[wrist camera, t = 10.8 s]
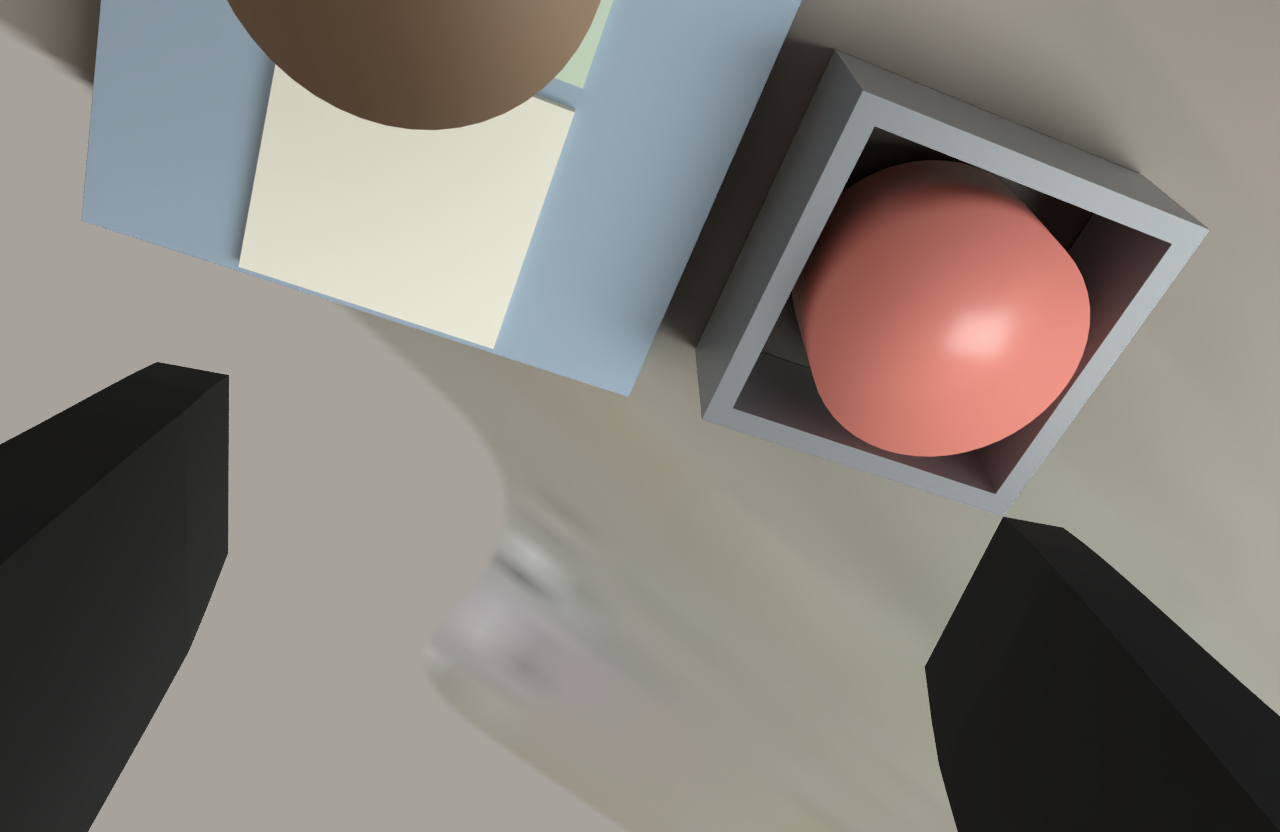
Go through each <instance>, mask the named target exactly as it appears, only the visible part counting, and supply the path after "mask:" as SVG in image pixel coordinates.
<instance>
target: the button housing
mask: <svg viewBox="0 0 1280 832" xmlns="http://www.w3.org/2000/svg"><path fill="white" fill-rule="evenodd" d="M874 127H878V128H880V129H883V130H886V131H888V132H891V133H893V134H896V135H898V136H901V137H903V138H906V139H908V140H911V141H913V142H916V143H918V144H921V145H923V146H926V147H929V148H931V149H934V150H936V151H939V152H941V153H944V154H946V155H949V156H951V157H954V158H956V159H959V160H961V161H964V162H966V163H969V164H971V165H974V166H977V167H979V168H982V169H984V170H987V171H989V172H992V173H994V174H997V175H999V176H1002V177H1004V178H1007V179H1009V180H1012V181H1014V182H1017V183H1019V184H1022V185H1025V186H1027V187H1030V188H1032V189H1035V190H1037V191H1040V192H1042V193H1045V194H1047V195H1050V196H1052V197H1055V198H1057V199H1060V200H1062V201H1065V202H1068V203H1070V204H1073V205H1075V206H1078V207H1080V208H1083V209H1085V210H1088V211H1090V212H1093V215H1092V216H1091V218H1090V219H1089V221H1088V222H1087V224H1086V226H1085V227H1084V229H1083V230H1082V232H1081V233H1080V235H1079V236H1078V238H1077V239H1076V241H1075V242H1074V244H1073V246H1072V247H1071V249H1070V250H1069V252H1068V254H1069V255H1070V257H1071V258H1072V259H1073V261H1074V262H1075V263H1076V265H1077V267H1078V269H1079V271H1080V273H1081V275H1082V277H1083V280H1084V283H1085V286H1086V289H1087V292H1088V298H1089V304H1090V327H1089V333H1088V339H1087V343H1086V346H1085V349H1084V353H1083V356H1082V358H1081V360H1080V362H1079V365H1078V367H1077V369H1076V371H1075V373H1074V374H1073V376H1072V378H1071V379H1070V381H1069V382H1068V384H1067V386H1066V387H1065V388H1064V389H1063V391H1062V392H1061V393H1060V394H1059V396H1058V397H1057V398H1056V399H1055V400H1054V401H1053V402H1052V403H1051V404H1050V405H1049V406H1048V408H1047V409H1046V410H1045V411H1044V412H1042V413H1041V414H1040V415H1039V416H1037V417H1036V418H1035V419H1034V420H1033V421H1031V422H1030V423H1029V424H1027V425H1026V426H1024V427H1023V428H1021V429H1019V430H1018V431H1016V432H1015V433H1013V434H1011V435H1009V436H1007V437H1005V438H1003V439H1002V440H1000V441H997V442H995V443H992V444H990V445H987V446H985V447H982V448H979V449H975V450H972V451H968V452H964V453H959V454H953V455H946V456H933V457H928V456H911V455H904V454H898V453H894V452H890V451H886V450H883V449H880V448H878V447H875V446H873V445H870V444H868V443H867V442H865V441H863V440H861V439H859V438H858V437H856V436H854V435H853V434H852V433H851V432H849V431H848V430H847V429H845V428H844V427H843V426H842V425H841V424H840V423H839V422H838V421H837V420H836V419H835V418H834V417H833V416H832V414H831V413H830V411H829V410H828V409H827V407H826V406H825V404H824V402H823V400H822V398H821V396H820V395H819V393H818V390H817V387H816V384H815V381H814V378H813V374H812V371H811V369H809V368H806V367H803V366H800V365H797V364H794V363H791V362H788V361H785V360H782V359H779V358H777V357H774V356H771V355H768V354H765V353H762V352H761V351H762V349H763V347H764V345H765V343H766V341H767V339H768V337H769V335H770V333H771V331H772V329H773V327H774V325H775V323H776V321H777V319H778V317H779V315H780V313H781V311H782V309H783V307H784V305H785V303H786V301H787V299H788V297H789V295H790V293H791V291H792V289H793V287H794V285H795V283H796V281H797V279H798V277H799V275H800V273H801V271H802V269H803V267H804V265H805V264H806V262H807V260H808V258H809V256H810V254H811V252H812V250H813V248H814V246H815V244H816V242H817V240H818V238H819V236H820V234H821V232H822V230H823V228H824V226H825V224H826V222H827V220H828V218H829V216H830V214H831V212H832V210H833V208H834V206H835V204H836V202H837V200H838V198H839V196H840V194H841V192H842V190H843V188H844V186H845V184H846V182H847V180H848V178H849V176H850V174H851V172H852V170H853V168H854V166H855V164H856V162H857V160H858V158H859V157H860V155H861V153H862V151H863V149H864V147H865V145H866V143H867V141H868V139H869V137H870V135H871V133H872V131H873V129H874ZM1208 232H1209V229H1208V228H1207V227H1206V226H1204V225H1203V224H1202V223H1201V222H1200V221H1198V220H1197V219H1196V218H1195V217H1193V216H1192V215H1191V214H1190V213H1189V212H1187V211H1186V210H1185V209H1184V208H1182V207H1181V206H1180V205H1179V204H1177V203H1176V202H1175V201H1174V200H1173V199H1171V198H1170V197H1169V196H1168V195H1166V194H1165V193H1164V192H1163V191H1162V190H1160V189H1159V188H1158V187H1157V186H1155V185H1154V184H1153V183H1152V182H1151V181H1149V180H1148V179H1147V178H1146V177H1144V176H1143V175H1141V174H1139V173H1136V172H1134V171H1132V170H1129V169H1127V168H1124V167H1122V166H1119V165H1117V164H1114V163H1112V162H1110V161H1107V160H1105V159H1102V158H1100V157H1097V156H1095V155H1092V154H1090V153H1087V152H1085V151H1083V150H1080V149H1078V148H1075V147H1073V146H1070V145H1068V144H1065V143H1063V142H1061V141H1058V140H1056V139H1053V138H1051V137H1048V136H1046V135H1043V134H1041V133H1038V132H1036V131H1034V130H1031V129H1029V128H1026V127H1024V126H1021V125H1019V124H1016V123H1014V122H1012V121H1009V120H1007V119H1004V118H1002V117H999V116H997V115H994V114H992V113H990V112H987V111H985V110H982V109H980V108H977V107H975V106H972V105H970V104H967V103H965V102H963V101H960V100H958V99H955V98H953V97H950V96H948V95H945V94H943V93H941V92H938V91H936V90H933V89H931V88H928V87H926V86H923V85H921V84H919V83H916V82H914V81H911V80H909V79H906V78H904V77H901V76H899V75H896V74H894V73H892V72H889V71H887V70H884V69H882V68H879V67H877V66H874V65H872V64H870V63H867V62H865V61H862V60H860V59H857V58H855V57H852V56H850V55H848V54H845V53H843V52H840V51H838V50H834V52H833V55H832V57H831V59H830V61H829V63H828V65H827V68H826V70H825V72H824V74H823V76H822V78H821V80H820V83H819V85H818V87H817V89H816V91H815V93H814V95H813V98H812V100H811V102H810V104H809V106H808V108H807V111H806V113H805V115H804V117H803V119H802V121H801V123H800V126H799V128H798V130H797V132H796V134H795V136H794V139H793V141H792V143H791V145H790V147H789V149H788V151H787V154H786V156H785V158H784V160H783V162H782V164H781V166H780V169H779V171H778V173H777V175H776V177H775V179H774V182H773V184H772V186H771V188H770V190H769V192H768V194H767V197H766V199H765V201H764V203H763V205H762V207H761V210H760V212H759V214H758V216H757V218H756V220H755V222H754V225H753V227H752V229H751V231H750V233H749V235H748V237H747V240H746V242H745V244H744V246H743V248H742V250H741V253H740V255H739V257H738V259H737V261H736V263H735V265H734V268H733V270H732V272H731V274H730V276H729V278H728V281H727V283H726V285H725V287H724V289H723V291H722V293H721V296H720V298H719V300H718V302H717V304H716V306H715V308H714V311H713V313H712V315H711V317H710V319H709V321H708V324H707V326H706V328H705V330H704V332H703V334H702V336H701V339H700V341H699V343H698V345H697V347H696V349H695V352H696V362H697V373H698V383H699V394H700V404H701V415H702V420H705V421H708V422H711V423H714V424H717V425H720V426H723V427H726V428H730V429H733V430H736V431H739V432H742V433H745V434H748V435H751V436H754V437H757V438H761V439H764V440H767V441H770V442H773V443H776V444H779V445H782V446H785V447H788V448H792V449H795V450H798V451H801V452H804V453H807V454H810V455H813V456H816V457H819V458H823V459H826V460H829V461H832V462H835V463H838V464H841V465H844V466H847V467H850V468H854V469H857V470H860V471H863V472H866V473H869V474H872V475H875V476H878V477H881V478H885V479H888V480H891V481H894V482H897V483H900V484H903V485H906V486H909V487H912V488H916V489H919V490H922V491H925V492H928V493H931V494H934V495H937V496H940V497H943V498H947V499H950V500H953V501H956V502H959V503H962V504H965V505H968V506H971V507H974V508H978V509H981V510H984V511H987V512H990V513H993V514H996V515H999V516H1002V517H1003V516H1004V515H1005V513H1006V512H1007V510H1008V509H1009V508H1010V506H1011V505H1012V503H1013V502H1014V501H1015V499H1016V498H1017V497H1018V495H1019V494H1020V492H1021V491H1022V490H1023V488H1024V487H1025V485H1026V484H1027V483H1028V481H1029V480H1030V479H1031V477H1032V476H1033V474H1034V473H1035V472H1036V470H1037V469H1038V467H1039V466H1040V465H1041V463H1042V462H1043V460H1044V459H1045V458H1046V456H1047V455H1048V454H1049V452H1050V451H1051V449H1052V448H1053V447H1054V445H1055V444H1056V442H1057V441H1058V440H1059V438H1060V437H1061V436H1062V434H1063V433H1064V431H1065V430H1066V429H1067V427H1068V426H1069V424H1070V423H1071V422H1072V420H1073V419H1074V418H1075V416H1076V415H1077V413H1078V412H1079V411H1080V409H1081V408H1082V406H1083V405H1084V404H1085V402H1086V401H1087V399H1088V398H1089V397H1090V395H1091V394H1092V393H1093V391H1094V390H1095V388H1096V387H1097V386H1098V384H1099V383H1100V381H1101V380H1102V379H1103V377H1104V376H1105V375H1106V373H1107V372H1108V370H1109V369H1110V368H1111V366H1112V365H1113V363H1114V362H1115V361H1116V359H1117V358H1118V357H1119V355H1120V354H1121V352H1122V351H1123V350H1124V348H1125V347H1126V345H1127V344H1128V343H1129V341H1130V340H1131V338H1132V337H1133V336H1134V334H1135V333H1136V332H1137V330H1138V329H1139V327H1140V326H1141V325H1142V323H1143V322H1144V320H1145V319H1146V318H1147V316H1148V315H1149V314H1150V312H1151V311H1152V309H1153V308H1154V307H1155V305H1156V304H1157V302H1158V301H1159V300H1160V298H1161V297H1162V295H1163V294H1164V293H1165V291H1166V290H1167V289H1168V287H1169V286H1170V284H1171V283H1172V282H1173V280H1174V279H1175V277H1176V276H1177V275H1178V273H1179V272H1180V271H1181V269H1182V268H1183V266H1184V265H1185V264H1186V262H1187V261H1188V259H1189V258H1190V257H1191V255H1192V254H1193V253H1194V251H1195V250H1196V248H1197V247H1198V246H1199V244H1200V243H1201V241H1202V240H1203V239H1204V237H1205V236H1206V234H1207V233H1208Z"/></svg>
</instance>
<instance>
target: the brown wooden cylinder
mask: <svg viewBox="0 0 1280 832" xmlns="http://www.w3.org/2000/svg"><path fill="white" fill-rule="evenodd" d="M227 1H228V3H229V5H230V7H231V8H232V10H233V12H234V14H235V15H236V17H237V18H238V20H239V21H240V22H241V24H242V25H243V27H244V28H245V29H246V31H247V32H248V34H249V35H250V36H251V38H252V39H253V40H254V41H255V42H256V44H257V45H258V46H259V47H260V48H261V49H262V50H263V51H264V53H265V54H266V55H267V56H268V57H269V58H270V59H271V60H272V61H273V62H274V63H275V64H276V65H277V66H278V67H279V68H280V69H282V70H283V71H284V72H285V73H286V74H287V75H288V76H289V77H290V78H291V79H293V80H294V81H295V82H297V83H298V84H300V85H301V86H302V87H304V88H305V89H306V90H308V91H309V92H311V93H312V94H313V95H315V96H317V97H318V98H320V99H322V100H324V101H325V102H327V103H329V104H331V105H333V106H334V107H336V108H338V109H340V110H343V111H345V112H347V113H350V114H352V115H355V116H357V117H359V118H362V119H365V120H369V121H372V122H376V123H379V124H382V125H386V126H392V127H398V128H405V129H413V130H442V129H452V128H460V127H464V126H469V125H473V124H477V123H481V122H484V121H487V120H489V119H492V118H494V117H497V116H499V115H502V114H505V113H506V112H508V111H510V110H512V109H514V108H515V107H517V106H519V105H521V104H522V103H524V102H526V101H527V100H529V99H530V98H531V97H533V96H534V95H535V94H536V93H538V92H539V91H540V90H542V89H543V88H544V87H546V86H547V85H548V83H549V82H550V81H551V80H552V79H553V78H554V77H555V76H556V75H557V74H558V73H559V72H560V71H561V70H562V69H563V68H564V67H565V65H566V64H567V63H568V61H569V60H570V59H571V57H572V56H573V55H574V53H575V52H576V51H577V49H578V48H579V46H580V44H581V43H582V41H583V39H584V37H585V35H586V34H587V32H588V30H589V28H590V27H591V24H592V22H593V19H594V17H595V14H596V12H597V9H598V7H599V4H600V2H601V0H227Z"/></svg>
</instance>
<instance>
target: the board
mask: <svg viewBox="0 0 1280 832" xmlns="http://www.w3.org/2000/svg"><path fill="white" fill-rule="evenodd" d="M801 1H802V0H601V2H600V4H599V7H598V9H597V12H596V14H595V17H594V19H593V22H592V24H591V27H590V28H589V30H588V32H587V34H586V35H585V37H584V39H583V41H582V43H581V44H580V46H579V48H578V49H577V51H576V52H575V53H574V55H573V56H572V57H571V59H570V60H569V61H568V63H567V64H566V65H565V67H564V68H563V69H562V70H561V71H560V72H559V73H558V74H557V75H556V76H555V77H554V78H553V79H552V80H551V81H550V82H549V83H548V85H547V86H546V87H544V88H543V89H542V90H540V91H539V92H538V93H536V94H535V95H534V96H533V97H531V98H530V99H529V100H527V101H526V102H524V103H522V104H521V105H519V106H517V107H515V108H514V109H512V110H510V111H508V112H506V113H505V114H502V115H499V116H497V117H494V118H492V119H489V120H487V121H484V122H481V123H477V124H473V125H469V126H464V127H460V128H452V129H442V130H413V129H405V128H398V127H392V126H386V125H382V124H379V123H376V122H372V121H369V120H365V119H362V118H359V117H357V116H355V115H352V114H350V113H347V112H345V111H343V110H340V109H338V108H336V107H334V106H333V105H331V104H329V103H327V102H325V101H324V100H322V99H320V98H318V97H317V96H315V95H313V94H312V93H311V92H309V91H308V90H306V89H305V88H304V87H302V86H301V85H300V84H298V83H297V82H295V81H294V80H293V79H291V78H290V77H289V76H288V75H287V74H286V73H285V72H284V71H283V70H282V69H280V68H279V67H278V66H277V65H276V64H275V63H274V62H273V61H272V60H271V59H270V58H269V57H268V56H267V55H266V54H265V53H264V51H263V50H262V49H261V48H260V47H259V46H258V45H257V44H256V42H255V41H254V40H253V39H252V38H251V36H250V35H249V34H248V32H247V31H246V29H245V28H244V27H243V25H242V24H241V22H240V21H239V20H238V18H237V17H236V15H235V14H234V12H233V10H232V8H231V7H230V5H229V3H228V1H227V0H101V8H100V19H99V30H98V41H97V52H96V63H95V74H94V86H93V97H92V108H91V119H90V130H89V141H88V152H87V163H86V174H85V186H84V197H83V208H82V219H81V220H82V221H84V222H87V223H91V224H94V225H97V226H100V227H103V228H106V229H109V230H112V231H116V232H119V233H122V234H125V235H128V236H131V237H134V238H137V239H140V240H143V241H146V242H150V243H153V244H156V245H159V246H162V247H165V248H168V249H171V250H174V251H177V252H181V253H184V254H187V255H190V256H193V257H196V258H199V259H202V260H205V261H208V262H212V263H215V264H218V265H221V266H224V267H227V268H230V269H233V270H236V271H240V272H243V273H246V274H249V275H252V276H255V277H258V278H261V279H264V280H267V281H271V282H274V283H277V284H280V285H283V286H286V287H289V288H292V289H295V290H298V291H302V292H305V293H308V294H311V295H314V296H317V297H320V298H323V299H326V300H330V301H332V302H336V303H339V304H342V305H345V306H348V307H351V308H354V309H357V310H360V311H364V312H367V313H370V314H373V315H376V316H379V317H382V318H385V319H388V320H391V321H395V322H398V323H401V324H404V325H407V326H410V327H413V328H416V329H419V330H422V331H426V332H429V333H432V334H435V335H438V336H441V337H444V338H447V339H450V340H453V341H457V342H460V343H463V344H466V345H469V346H472V347H475V348H478V349H481V350H484V351H488V352H491V353H494V354H497V355H500V356H503V357H506V358H509V359H512V360H516V361H519V362H522V363H525V364H528V365H531V366H534V367H537V368H540V369H543V370H547V371H550V372H553V373H556V374H559V375H562V376H565V377H568V378H571V379H574V380H578V381H581V382H584V383H587V384H590V385H593V386H596V387H599V388H602V389H605V390H609V391H612V392H615V393H618V394H621V395H624V396H627V397H629V395H630V392H631V390H632V388H633V385H634V383H635V381H636V379H637V376H638V374H639V372H640V369H641V367H642V365H643V363H644V360H645V358H646V356H647V353H648V351H649V349H650V347H651V344H652V342H653V340H654V337H655V335H656V333H657V331H658V328H659V326H660V324H661V321H662V319H663V317H664V315H665V312H666V310H667V308H668V305H669V303H670V301H671V299H672V296H673V294H674V292H675V289H676V287H677V285H678V283H679V280H680V278H681V276H682V273H683V271H684V269H685V267H686V264H687V262H688V260H689V257H690V255H691V253H692V251H693V248H694V246H695V244H696V241H697V239H698V237H699V234H700V232H701V230H702V228H703V225H704V223H705V221H706V218H707V216H708V214H709V212H710V209H711V207H712V205H713V202H714V200H715V198H716V196H717V193H718V191H719V189H720V186H721V184H722V182H723V180H724V177H725V175H726V173H727V170H728V168H729V166H730V164H731V161H732V159H733V157H734V154H735V152H736V150H737V148H738V145H739V143H740V141H741V138H742V136H743V134H744V132H745V129H746V127H747V125H748V122H749V120H750V118H751V116H752V113H753V111H754V109H755V106H756V104H757V102H758V100H759V97H760V95H761V93H762V90H763V88H764V86H765V84H766V81H767V79H768V77H769V74H770V72H771V70H772V67H773V65H774V63H775V61H776V58H777V56H778V54H779V51H780V49H781V47H782V45H783V42H784V40H785V38H786V35H787V33H788V31H789V29H790V26H791V24H792V22H793V19H794V17H795V15H796V13H797V10H798V8H799V6H800V3H801Z"/></svg>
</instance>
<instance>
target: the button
mask: <svg viewBox="0 0 1280 832" xmlns="http://www.w3.org/2000/svg"><path fill="white" fill-rule="evenodd" d="M792 298H793V304H794V310H795V314H796V318H797V321H798V325H799V328H800V332H801V335H802V339H803V342H804V346H805V349H806V353H807V356H808V360H809V363H810V367H811V371H812V374H813V378H814V381H815V384H816V387H817V390H818V393H819V395H820V396H821V398H822V400H823V402H824V404H825V406H826V407H827V409H828V410H829V411H830V413H831V414H832V416H833V417H834V418H835V419H836V420H837V421H838V422H839V423H840V424H841V425H842V426H843V427H844V428H845V429H847V430H848V431H849V432H851V433H852V434H853V435H854V436H856V437H858V438H859V439H861V440H863V441H865V442H867V443H868V444H870V445H873V446H875V447H878V448H880V449H883V450H886V451H890V452H894V453H898V454H904V455H911V456H928V457H933V456H946V455H953V454H959V453H964V452H968V451H972V450H975V449H979V448H982V447H985V446H987V445H990V444H992V443H995V442H997V441H1000V440H1002V439H1003V438H1005V437H1007V436H1009V435H1011V434H1013V433H1015V432H1016V431H1018V430H1019V429H1021V428H1023V427H1024V426H1026V425H1027V424H1029V423H1030V422H1031V421H1033V420H1034V419H1035V418H1036V417H1037V416H1039V415H1040V414H1041V413H1042V412H1044V411H1045V410H1046V409H1047V408H1048V406H1049V405H1050V404H1051V403H1052V402H1053V401H1054V400H1055V399H1056V398H1057V397H1058V396H1059V394H1060V393H1061V392H1062V391H1063V389H1064V388H1065V387H1066V386H1067V384H1068V382H1069V381H1070V379H1071V378H1072V376H1073V374H1074V373H1075V371H1076V369H1077V367H1078V365H1079V362H1080V360H1081V358H1082V356H1083V353H1084V349H1085V346H1086V343H1087V339H1088V333H1089V327H1090V304H1089V298H1088V292H1087V289H1086V286H1085V283H1084V280H1083V277H1082V275H1081V273H1080V271H1079V269H1078V267H1077V265H1076V263H1075V262H1074V261H1073V259H1072V258H1071V257H1070V255H1069V254H1068V253H1067V252H1066V250H1065V249H1064V248H1063V247H1062V246H1061V245H1060V243H1059V242H1058V241H1057V240H1056V239H1055V238H1054V237H1053V235H1052V234H1051V233H1050V232H1049V231H1048V230H1047V229H1046V227H1045V226H1044V225H1043V224H1042V223H1041V222H1040V221H1039V219H1038V218H1037V217H1036V216H1035V215H1034V214H1033V213H1032V211H1031V210H1030V209H1029V208H1028V207H1027V206H1026V205H1025V203H1024V202H1023V201H1022V200H1021V199H1020V198H1019V197H1018V195H1017V194H1016V193H1015V192H1014V191H1013V190H1011V189H1010V188H1009V187H1008V186H1007V185H1006V184H1005V183H1004V182H1002V181H1001V180H999V179H998V178H996V177H995V176H993V175H991V174H989V173H987V172H985V171H983V170H981V169H979V168H976V167H973V166H970V165H966V164H963V163H957V162H952V161H941V160H926V161H915V162H909V163H904V164H900V165H895V166H892V167H890V168H887V169H884V170H881V171H878V172H876V173H874V174H872V175H870V176H868V177H866V178H864V179H862V180H860V181H859V182H857V183H856V184H854V185H852V186H851V187H849V188H848V189H847V190H845V191H844V192H843V193H842V194H840V196H839V198H838V200H837V202H836V204H835V206H834V208H833V210H832V212H831V214H830V216H829V218H828V220H827V222H826V224H825V226H824V228H823V230H822V232H821V234H820V236H819V238H818V240H817V242H816V244H815V246H814V248H813V250H812V252H811V254H810V256H809V258H808V260H807V262H806V264H805V265H804V267H803V269H802V271H801V273H800V275H799V277H798V279H797V281H796V283H795V285H794V287H793V289H792Z"/></svg>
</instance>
